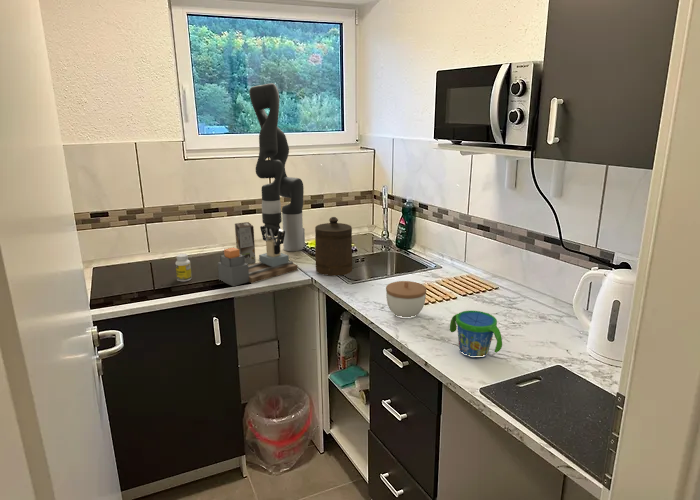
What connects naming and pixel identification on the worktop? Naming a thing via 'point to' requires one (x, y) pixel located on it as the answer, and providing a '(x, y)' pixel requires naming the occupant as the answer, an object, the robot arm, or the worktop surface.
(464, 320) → the snack cup
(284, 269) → the rail bed
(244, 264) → the cabinet
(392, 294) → the lidded bowl
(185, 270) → the supplement bottle
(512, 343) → the worktop surface
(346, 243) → the wooden container
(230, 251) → the button
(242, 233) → the coffee box
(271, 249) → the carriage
